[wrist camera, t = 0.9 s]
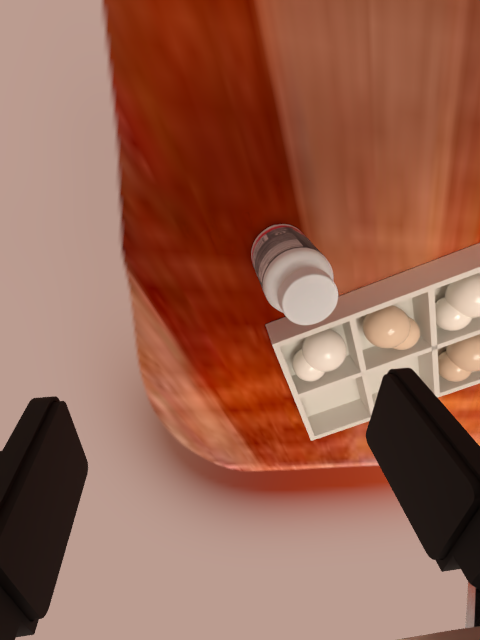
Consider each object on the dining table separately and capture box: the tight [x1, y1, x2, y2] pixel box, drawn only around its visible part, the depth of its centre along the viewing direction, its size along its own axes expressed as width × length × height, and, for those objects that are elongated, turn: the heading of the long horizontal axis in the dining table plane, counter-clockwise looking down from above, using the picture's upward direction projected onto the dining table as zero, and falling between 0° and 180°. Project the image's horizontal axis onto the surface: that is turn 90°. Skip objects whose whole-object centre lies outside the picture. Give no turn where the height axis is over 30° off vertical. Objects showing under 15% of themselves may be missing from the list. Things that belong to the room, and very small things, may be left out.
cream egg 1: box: [292, 329, 347, 381], centre depth 35 cm, size 6×4×4 cm
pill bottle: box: [251, 224, 338, 325], centre depth 27 cm, size 5×5×10 cm
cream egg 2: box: [435, 273, 480, 331], centre depth 33 cm, size 6×4×4 cm
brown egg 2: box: [438, 334, 480, 382], centre depth 37 cm, size 6×4×4 cm
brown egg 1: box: [363, 305, 420, 350], centre depth 34 cm, size 6×4×4 cm
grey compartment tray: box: [265, 243, 480, 441], centre depth 37 cm, size 23×16×4 cm
